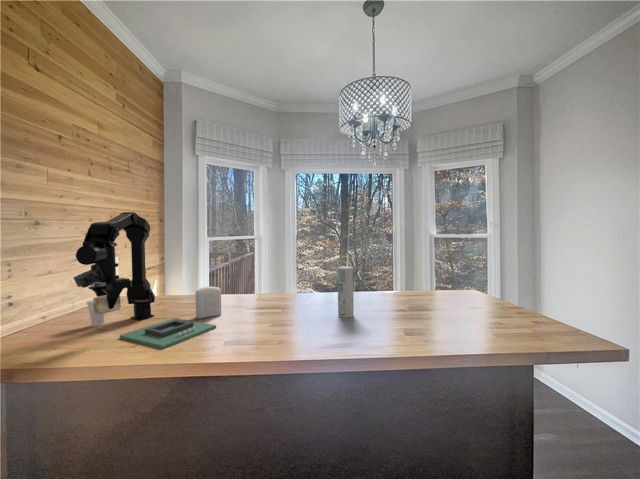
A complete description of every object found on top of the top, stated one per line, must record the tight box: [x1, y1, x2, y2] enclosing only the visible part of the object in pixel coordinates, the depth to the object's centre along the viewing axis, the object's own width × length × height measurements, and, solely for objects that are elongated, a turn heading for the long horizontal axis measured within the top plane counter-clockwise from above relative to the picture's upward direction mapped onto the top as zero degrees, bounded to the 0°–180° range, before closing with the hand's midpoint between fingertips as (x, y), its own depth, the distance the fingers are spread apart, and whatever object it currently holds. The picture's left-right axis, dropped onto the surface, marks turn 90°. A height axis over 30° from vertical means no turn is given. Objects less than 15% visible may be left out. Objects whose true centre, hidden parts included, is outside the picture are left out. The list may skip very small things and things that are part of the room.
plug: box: [92, 295, 122, 314], centre depth 107 cm, size 4×7×5 cm, turn 152°
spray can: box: [337, 265, 355, 319], centre depth 132 cm, size 6×6×20 cm
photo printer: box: [195, 286, 222, 320], centre depth 134 cm, size 10×4×12 cm, turn 123°
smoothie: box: [86, 298, 106, 328], centre depth 123 cm, size 6×6×14 cm
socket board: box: [119, 317, 217, 350], centre depth 114 cm, size 22×22×2 cm
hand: (107, 307), depth 107 cm, fingers closed on plug, 4 cm apart
